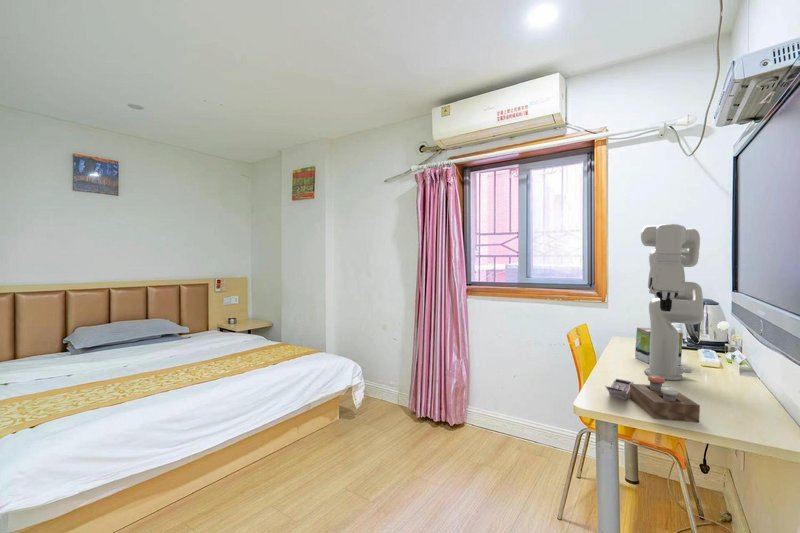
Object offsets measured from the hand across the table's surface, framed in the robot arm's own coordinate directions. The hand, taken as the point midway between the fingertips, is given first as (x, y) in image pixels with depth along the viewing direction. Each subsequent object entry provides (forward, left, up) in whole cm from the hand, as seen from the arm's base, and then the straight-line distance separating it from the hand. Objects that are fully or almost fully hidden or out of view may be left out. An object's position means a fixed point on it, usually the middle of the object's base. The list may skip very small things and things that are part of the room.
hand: (665, 310), depth 131 cm
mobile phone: (+16, +6, -30) cm, 34 cm away
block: (+9, +17, -29) cm, 35 cm away
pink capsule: (+9, +13, -28) cm, 32 cm away
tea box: (-19, -43, -29) cm, 55 cm away
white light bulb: (+9, +21, -28) cm, 36 cm away
